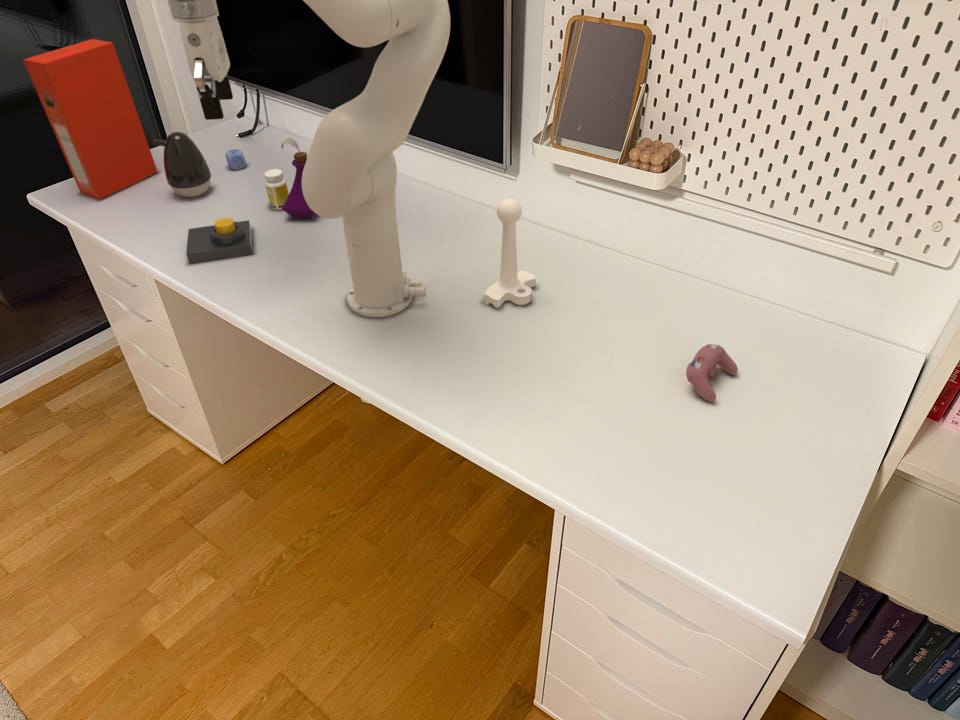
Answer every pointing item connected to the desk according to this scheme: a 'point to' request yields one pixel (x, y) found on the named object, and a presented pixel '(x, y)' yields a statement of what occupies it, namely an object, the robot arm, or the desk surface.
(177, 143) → the pump dispenser
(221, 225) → the button
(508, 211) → the joystick
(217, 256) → the console
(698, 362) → the video game controller
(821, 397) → the desk surface
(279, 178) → the supplement bottle
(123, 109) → the file binder
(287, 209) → the perfume bottle
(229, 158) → the decorative dice
